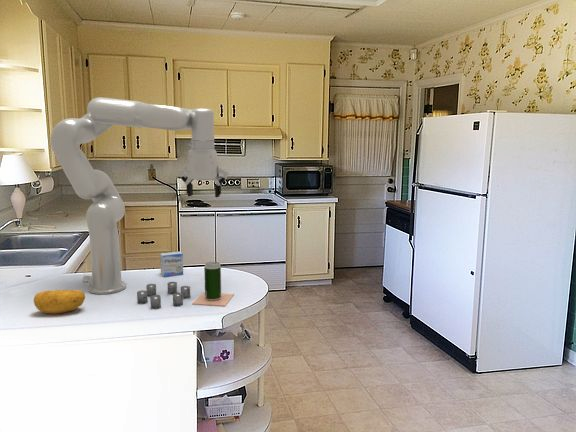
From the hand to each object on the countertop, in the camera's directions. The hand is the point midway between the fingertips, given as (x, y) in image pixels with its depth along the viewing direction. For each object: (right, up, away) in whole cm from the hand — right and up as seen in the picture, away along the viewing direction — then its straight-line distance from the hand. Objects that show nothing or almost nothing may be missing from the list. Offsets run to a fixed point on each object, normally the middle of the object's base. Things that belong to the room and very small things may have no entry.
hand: (203, 196), depth 166 cm
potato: (-41, -37, -17) cm, 58 cm away
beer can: (+4, -35, -5) cm, 35 cm away
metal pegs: (-12, -35, -5) cm, 37 cm away
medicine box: (-16, -30, +22) cm, 41 cm away
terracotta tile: (+4, -35, -5) cm, 35 cm away
